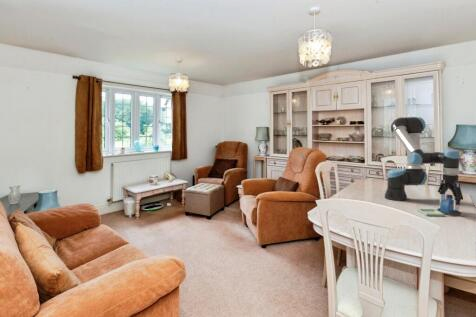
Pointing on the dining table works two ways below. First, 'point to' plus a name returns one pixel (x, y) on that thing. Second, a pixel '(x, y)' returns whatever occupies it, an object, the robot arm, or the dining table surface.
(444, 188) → the robot arm
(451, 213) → the ring
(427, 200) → the dining table surface
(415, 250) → the dining table surface
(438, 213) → the tray
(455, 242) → the dining table surface
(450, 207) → the perfume bottle
